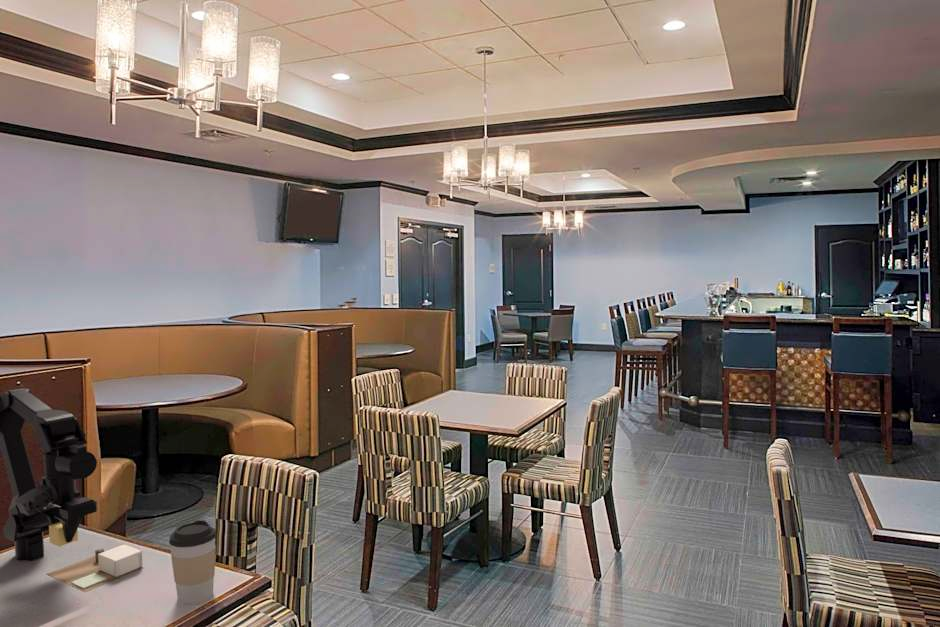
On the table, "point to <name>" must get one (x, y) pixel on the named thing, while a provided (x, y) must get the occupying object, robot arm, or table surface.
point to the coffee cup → (193, 561)
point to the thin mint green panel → (89, 580)
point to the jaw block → (59, 534)
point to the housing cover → (120, 560)
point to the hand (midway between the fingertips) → (63, 539)
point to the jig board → (85, 572)
